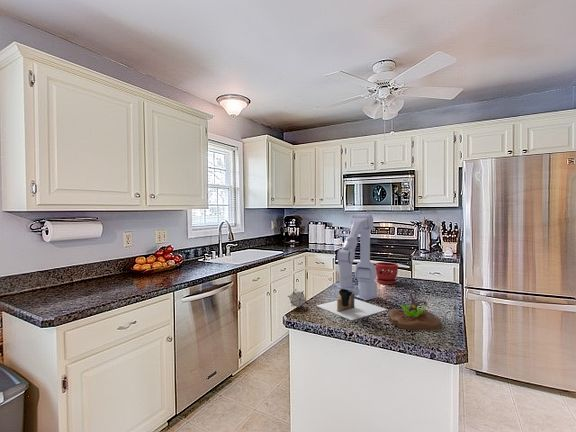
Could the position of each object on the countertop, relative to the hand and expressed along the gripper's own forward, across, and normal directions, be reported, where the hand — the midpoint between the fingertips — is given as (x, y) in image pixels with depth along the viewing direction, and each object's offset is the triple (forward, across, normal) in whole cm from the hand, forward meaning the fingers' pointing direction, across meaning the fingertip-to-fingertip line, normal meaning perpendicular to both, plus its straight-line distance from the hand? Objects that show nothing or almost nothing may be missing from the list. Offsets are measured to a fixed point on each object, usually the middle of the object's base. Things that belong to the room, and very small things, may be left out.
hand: (345, 306), depth 140 cm
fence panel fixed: (+2, -6, +6) cm, 9 cm away
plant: (+3, +24, +15) cm, 28 cm away
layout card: (+2, -2, +6) cm, 6 cm away
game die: (+3, -18, -14) cm, 23 cm away
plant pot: (+2, -23, +59) cm, 64 cm away
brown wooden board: (+2, -1, +1) cm, 3 cm away
